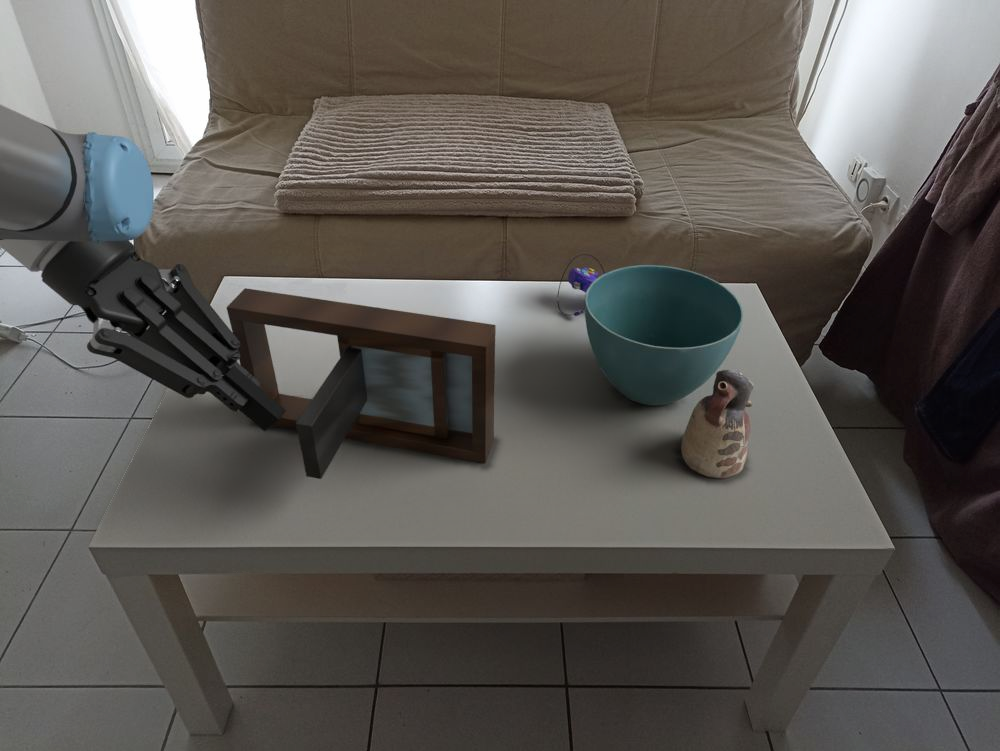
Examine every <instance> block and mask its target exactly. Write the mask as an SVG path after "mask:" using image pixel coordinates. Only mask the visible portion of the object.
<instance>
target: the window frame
mask: <svg viewBox="0 0 1000 751" xmlns="http://www.w3.org/2000/svg"><path fill="white" fill-rule="evenodd" d="M226 311H227V316H228V319H229V323H230V324H229V325H230V327H231V328H230V329H231V331H232V333H233V334H234V335H235V336H236V338H237V339H238V340H239V342H240V347H239V348H238V349H237V351H238V352H239V353H240V358H239V359H238V361H239V364H240V365H241V366H242V367H243V368H245V369H246V370H247V371H248V372H249V373H250V374H252V376H254V377H255V378H256V379H257V380H258V381H259V383H260V386H259V387H260V388H261V389H262V390H263V391H264V392H266V393H267V394H268V395H269V396H270V397H271V398H272V399H274V400H275V401H276V402H277V403H278V404H279V405H281V406H282V407H283V408H284V409H285V410H286V411H285V413H284V414H283V415H282V417H281V418H280V419H279V420H278V421H277V422H276V423H275V424H273V425H272V426H275V427H279V428H286V429H291V430H296V431H297V427H296V422H297V421H298V419H299V418H300V417H301V415H302V414H303V412H304V411H305V409H306V408H307V406H308V405H309V403H310V402H311V400H312V399H313V398H308V397H302V396H296V395H289V394H284V393H280V391H279V386H278V381H277V377H276V372H275V368H274V363H273V359H272V358H273V357H272V354H271V348H270V344H269V339H268V334H267V330H266V326H271V327H279V328H284V329H285V328H286V329H291V330H296V331H297V330H298V331H305V332H311V333H317V334H323V335H330V336H336V337H337V336H342V337H349V338H355V339H362V340H368V341H375V342H381V343H388V344H394V345H401V346H407V347H414V348H420V349H426V350H433V351H439V352H446V370H447V400H448V430H449V434H448V436H447V439H445V438H439V437H435V436H429V435H423V434H417V433H412V432H406V431H400V430H395V429H389V428H383V427H377V426H372V425H366V424H360V423H355V422H354V424H353V426H352V427H351V429H350V431H349V432H348V434H347V436H346V438H345V439H347V440H351V441H352V440H353V441H357V442H364V443H369V444H375V445H379V446H385V447H390V448H391V447H392V448H397V449H402V450H409V451H414V452H419V453H424V454H430V455H435V456H441V457H448V458H453V459H458V460H459V459H460V460H464V461H469V462H475V463H479V464H480V463H481V464H486V463H487V460H488V457H489V454H490V451H491V449H492V447H493V444H494V443H493V442H494V440H495V392H496V391H495V390H496V388H495V386H496V381H495V380H496V375H495V374H496V327H497V325H496V324H493V323H486V322H478V321H473V320H472V321H471V320H465V319H458V318H452V317H446V316H445V317H443V316H439V315H438V316H437V315H430V314H424V313H417V312H411V311H410V312H409V311H403V310H397V309H391V308H390V309H389V308H384V307H375V306H370V305H369V306H368V305H362V304H355V303H350V302H341V301H335V300H330V299H329V300H328V299H322V298H315V297H307V296H300V295H294V294H287V293H280V292H274V291H267V290H259V289H253V288H247V287H246V288H243V289H242V291H241V292H240V293H239V294H238V295H236V297H234V299H233V300H232V301H231V302H230V303H229V304H228V305H227V306H226Z"/></svg>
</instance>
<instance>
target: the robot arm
mask: <svg viewBox="0 0 1000 751" xmlns="http://www.w3.org/2000/svg"><path fill="white" fill-rule="evenodd" d="M151 172H152V171H151V168H150V166H149V164H148V161H147V159H146V157H145V155H144V154H143V152H142V150H141V149H140V148H139V147H138V145H137V144H136V143H134V142H133V141H132V140H130V139H129V138H126V137H124V136H119V135H110V134H109V135H108V134H98V133H97V132H94V131H93V132H92V131H91V132H90V131H88V132H87V133H79V134H78V133H77V134H76V133H69V132H64V131H60V130H58V129H55V128H54V127H51V126H49V125H47V124H44V123H41V122H40V121H38V120H35V119H33V118H31V117H29V116H27V115H25V114H22V113H20V112H18V111H16V110H14V109H12V108H9V107H7V106H5V105H3V104H1V103H0V248H1V249H2V250H4V251H5V252H6V253H8V254H9V255H10V256H11V257H12V258H13V259H15V260H16V261H17V262H18V263H20V264H21V265H22V266H23V267H24V268H26V269H27V270H28V271H30V272H32V273H38V272H41V275H40V277H41V281H42V282H43V283H44V284H45V285H46V286H48V288H50V289H51V290H52V291H53V292H55V293H56V294H57V295H58V296H59V297H61V298H62V299H63V300H65V301H66V303H68V304H70V305H72V306H77V307H80V308H81V309H82V311H83V312H84V314H85V316H86V318H87V320H88V321H89V322H90V323H92V324H93V330H92V337H91V339H90V340H89V341H88V342H87V344H86V349H87V350H88V352H90V353H91V354H94V355H99V356H102V357H107V358H112V359H114V360H116V361H118V362H120V363H122V364H124V365H125V366H127V367H129V368H131V369H133V370H135V371H137V372H138V373H140V374H142V375H144V376H146V377H148V378H150V379H151V380H153V381H155V382H157V383H159V384H160V385H163V386H164V387H165V388H168V389H170V390H172V391H173V392H175V393H177V394H178V395H180V396H182V397H184V398H186V399H192V398H193V397H194V396H196V395H205V394H206V393H210V394H211V395H212V396H213V397H214V398H216V399H217V400H218V401H219V402H220V403H222V404H223V405H224V406H226V408H228V409H229V410H230V411H231V412H234V413H237V412H238V411H239V412H241V413H242V414H243V415H244V416H246V417H247V418H248V419H249V420H250V421H251V422H252V423H254V424H255V425H256V426H257V427H259V428H260V429H261V430H262V432H265V431H267V430H268V429H269V428H271V427H273V426H274V425H273V424H275V423H276V422H277V421H278V420H279V419H280V418H281V417H282V415H283V414H284V413H285V411H286V410H285V409H284V408H283V407H282V406H281V405H279V404H278V403H277V402H276V401H275V400H274V399H272V398H271V397H270V396H269V395H268V394H267V393H266V392H264V391H263V390H262V389H261V388H260V387H259V386H260V383H259V381H258V380H257V379H256V378H255V377H254V376H252V374H250V373H249V372H248V371H247V370H246V369H245V368H243V367H242V366H241V365H240V362H238V361H239V358H240V353H239V352H238V351H237V349H238V348H239V347H240V342H239V340H238V339H237V338H236V336H235V335H234V334H233V332H232V329H231V328H230V327H229V326H228V325H227V324H226V323H225V321H224V320H223V319H222V318H221V316H220V315H219V314H218V313H217V312H216V310H215V308H213V306H212V305H211V304H210V303H209V301H208V300H207V299H206V297H205V296H203V294H202V292H201V291H200V290H199V289H198V288H197V287H196V286H195V284H194V283H193V280H192V277H191V276H190V273H189V271H188V269H187V266H185V265H184V264H181V263H177V264H175V265H174V266H173V268H162V269H161V268H158V267H157V266H156V265H155V264H153V263H152V262H150V261H147V260H144V259H142V258H141V257H140V256H139V255H138V254H137V252H136V247H135V245H134V244H133V243H132V242H131V241H133V240H135V239H137V238H139V237H141V236H142V235H143V234H144V233H145V232H146V231H147V229H148V227H149V225H150V223H151V220H152V217H153V212H154V204H155V203H154V201H155V200H154V198H155V197H154V196H155V195H154V194H155V193H154V182H153V175H152V173H151ZM124 332H125V333H124Z"/></svg>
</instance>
